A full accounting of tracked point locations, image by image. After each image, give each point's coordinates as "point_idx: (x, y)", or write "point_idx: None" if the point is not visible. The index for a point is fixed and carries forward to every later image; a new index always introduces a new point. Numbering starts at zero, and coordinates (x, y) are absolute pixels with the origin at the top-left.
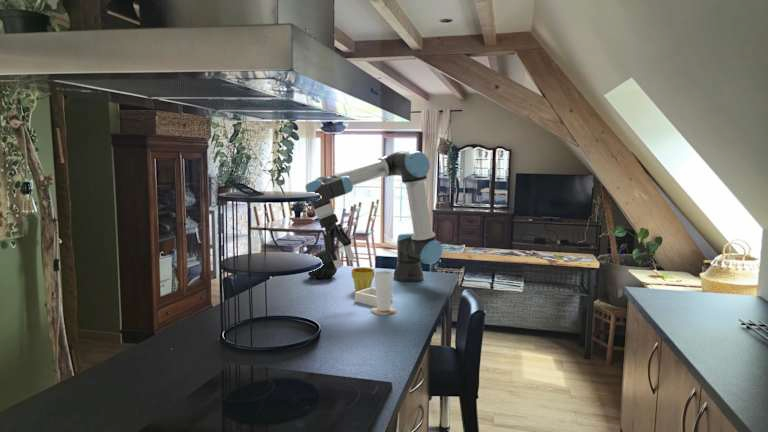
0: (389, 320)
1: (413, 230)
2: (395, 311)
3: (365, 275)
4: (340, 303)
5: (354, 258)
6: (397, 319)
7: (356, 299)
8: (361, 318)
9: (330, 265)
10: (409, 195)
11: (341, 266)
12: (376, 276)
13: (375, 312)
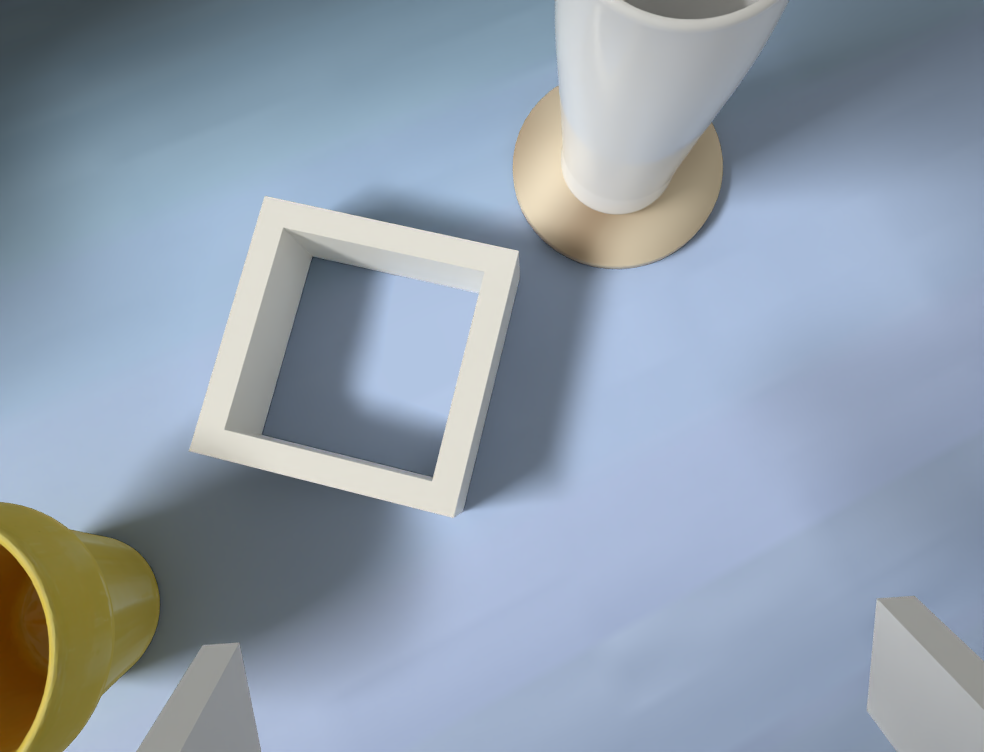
0: (803, 44)
1: None
2: None
3: (61, 561)
4: (572, 607)
5: (228, 652)
6: None
7: (465, 493)
8: (867, 249)
9: None
10: None
11: (917, 602)
12: (786, 4)
13: (715, 193)
